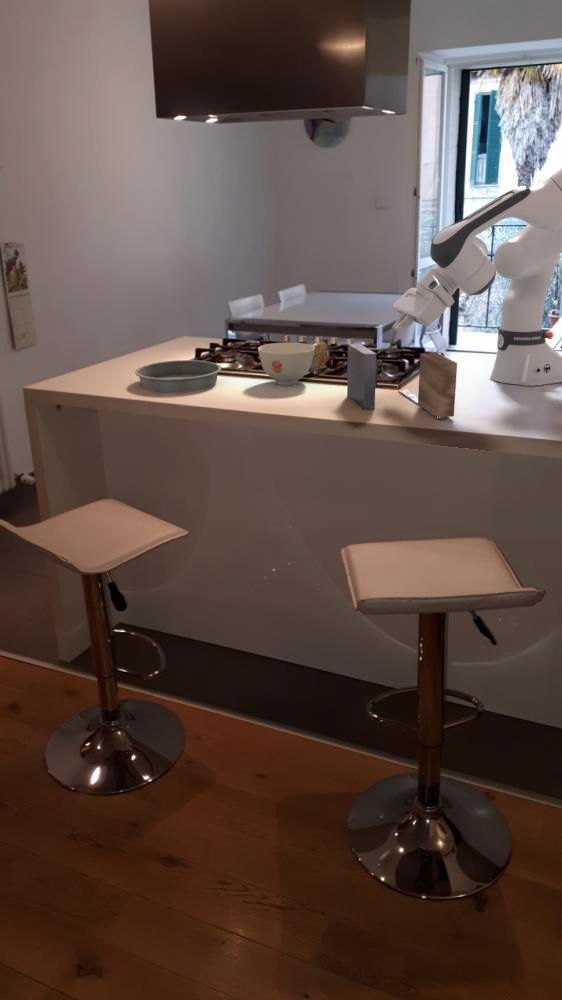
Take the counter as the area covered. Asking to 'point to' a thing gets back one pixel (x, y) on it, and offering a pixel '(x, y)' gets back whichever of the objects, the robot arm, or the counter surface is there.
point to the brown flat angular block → (437, 384)
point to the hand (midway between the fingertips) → (395, 330)
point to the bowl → (286, 361)
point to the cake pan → (178, 375)
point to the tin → (319, 356)
